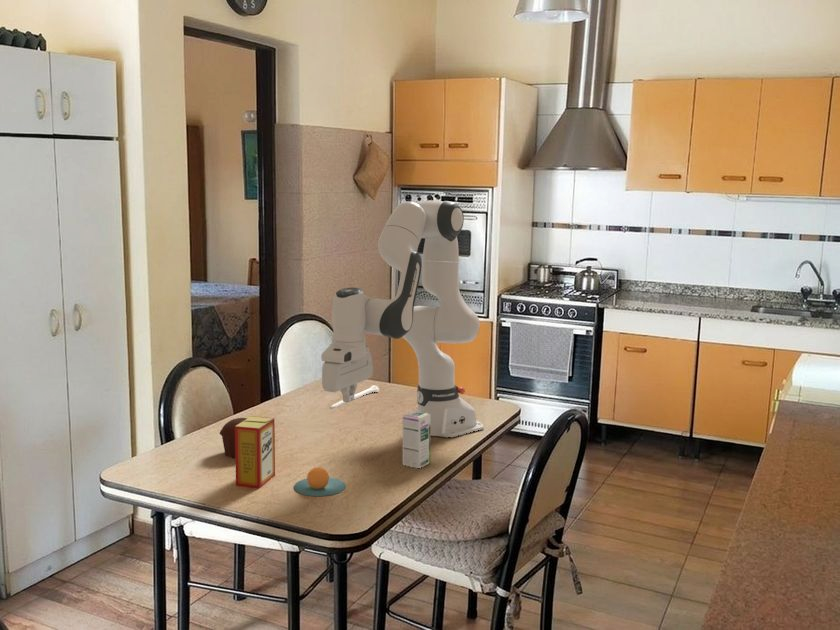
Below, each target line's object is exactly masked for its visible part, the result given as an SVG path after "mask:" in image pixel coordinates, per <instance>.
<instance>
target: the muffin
mask: <svg viewBox="0 0 840 630" xmlns="http://www.w3.org/2000/svg"><path fill="white" fill-rule="evenodd" d="M248 418H249V417H247V418H245V417H237V418H233V419H230V420H229V421H227V422H226V423H225V424H224V425H223V426H222V428H221V430H220V431H219V434H220V436H221V439H222V443H223V448H224V454H225V457H227V456H228V458H229V459H235V426H236V425H238V424H239V423H241V422H243V421H244V420H246V419H248Z"/></svg>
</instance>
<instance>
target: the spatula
mask: <svg viewBox="0 0 840 630" xmlns="http://www.w3.org/2000/svg"><path fill="white" fill-rule="evenodd" d="M372 392H373V393H372ZM374 392H378V393H379V392H380V388H379V386H377V385H376V384H375V385H371V386H370V387H369V388H367V389H365V390H362V391H360V392H358V393H355V394H354V400H356V398H357V399H359V398H361V396H362V397H364V396H367V395H370V394H375V393H374ZM366 394H367V395H366ZM363 395H364V396H363ZM358 397H359V398H358ZM345 403H346V404H348V403H347V402H343V399H342V400H340V401H337V402H336V403H334V404H332V405H331V406H330V409H334V408H338V407H340V406H343V405H346V404H345ZM342 404H343V405H342Z"/></svg>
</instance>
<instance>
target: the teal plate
mask: <svg viewBox="0 0 840 630" xmlns="http://www.w3.org/2000/svg"><path fill="white" fill-rule="evenodd" d="M346 487H347V486H346V482H344V481H343V480H341V479H339V478H335V477H330V476H329V481H328V484H327V485H326V486H325V487H324V488H322V489H313V488H312V487H310V486H309V484H308V482H307V478H303V479H301V480H299V481H297V482H295V484H294V486H293V489H294V491H295V492H296V493H298V494H299V495H303V496H308V497H329V496H334V495H337V494H339V493H341V492H343V491H344V490H345V489H346Z"/></svg>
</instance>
